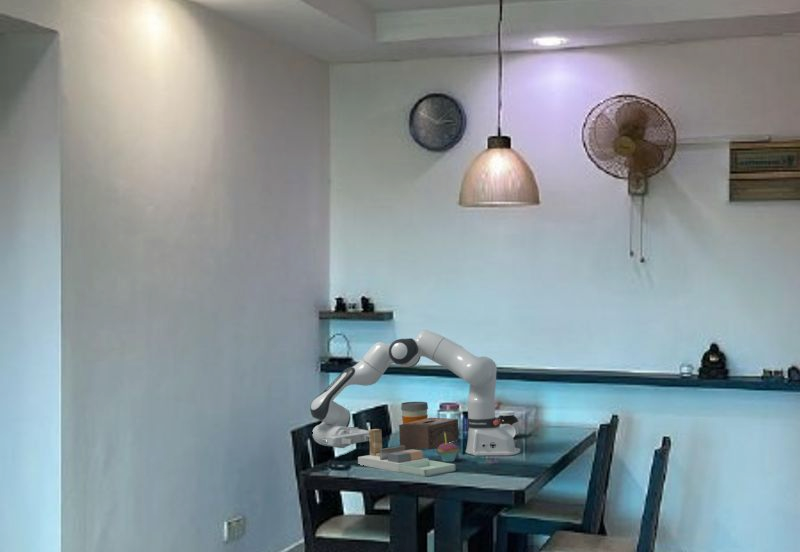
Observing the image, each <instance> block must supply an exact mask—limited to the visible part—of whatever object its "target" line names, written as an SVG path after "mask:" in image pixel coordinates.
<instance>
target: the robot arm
mask: <svg viewBox="0 0 800 552" xmlns="http://www.w3.org/2000/svg"><path fill="white" fill-rule="evenodd" d="M421 357H425V358H427V359H428V360H431V361H432V362H434V363H437V364H438V365H440V366H441V367H443V368H445V369H448V370H449V371H450V372H452V373H453V374H455V375H456V376H457V377H459V378H460V379H462V380H464V381H465V382H466V383H467V384H469V390H468V394H467V395H468V396H467V418H466V419H467V421H466V428H467V429H466V430H467V443H466V449H465V453H466V454H469V455H473V456H475V457H476V456H477V457H478V456H514V455H515V456H516V455H518V454H520V452H521V448H519V447H516V444H515V440H514V439H515V438H513V437H512V436H511V435H510V434H509V433H507V432H506V431H505V430H503V429H502V428H501V427H500V419H497V418H498V417H496V409H495V408H496V407H495V402H496V401H495V397H496V396H495V395H496V386H497V385H496V383H497V371H498V370H497V368H498V367H497V364H496V362H495V361H494V360H493V359H492V358H491V357H488V356H479V357H478V356H476V355H474V354H473V353H471V352H470V351H468V350H467V349H466V348H464V347H463V346H462V345H461V344H458V343H456V342H454V341H452V340H451V339H449V338H447V337H445V336H442V335H441V334H439V333H436V332H433V331H430V330H422V331H420V332H419V333H418V334H417V335H416V336H415V338H414V339H413V338H399V339H395V340H393V342H391V344H390V345H389V344H387V343H386V342H383V341H378V342H376V343H374V344H373V345H372V346H371V348H370V349H369V348H368V350H367V352H366V353H365V354H364V356H363V357H362V358H361V359H360V360H359V361H358V362H357V363H356V364H355V365H353V366H351V367H350V366H349V367H347V368H345V369H344V370H343V371H342V372H341V373H340V374H338V376H337V377H336V378H335V379H334V380H333V381H332V382H331V383H330V384H329V386H327V387H326V388H325V389H324V390H323V391H322V392H321V393H320V394H319V395H317V396H316V397H315V398H314V399H313V400H312V401H311V403H310V406H309V407H310V408H309V410H310V414H311V416H312V418H314V419H315V420H318V421H321V423H320V424H317V425H315V427H313V429H312V432H313V434H312V439H313V441H315V442H316V443H317V444H319V445H322V446H324V447H326V446H327V447H333V448H338V449H345V448H347V447H349V446H351V445H354V444H359V443H364V442H369V430H367V429H361V428H359V427H356V426H353V427H351V426H350V427H349V425H350V422H351V411H350V410H349V409H348V408H346V407H344V406H343V405H342V404H339V403H338V402H336V401H334V400H335V399H336V398H337V397H338V396H339V394H341V393H342V391H344V389H346V388H347V387H348V386H351V385H355V386H356V385H359V386H364V387H365V386H372V385H375V384H376V383H377V382H379V380H380V379H381V378H382V376H383V375H384V373H385V372H386V370H387V369H388V368H389V367H390V366H391V365H394V364H395V365H397V366H400V367H404V368H413V367H414V366H416V365H417V364H418V363H419V362H420V361H421Z"/></svg>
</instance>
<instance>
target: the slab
mask: <svg viewBox="0 0 800 552" xmlns="http://www.w3.org/2000/svg"><path fill="white" fill-rule="evenodd" d="M426 460H430V459H429V458H428V457H423V459H418V460H412V461H406V462H401V463H395V462H389V461H388V459H385V460H380V457H379V456H372V455H370V454H369V455H363V456H362V455H361V456H358V457H357V464H360V465H359V466H363V465H364V467H368V468H369V467H370V468H375V469H380V470H387V471H391V472H395V473H396V472H398V473H400V472H399V465H404V464H409V463H415V462H420V461H426Z"/></svg>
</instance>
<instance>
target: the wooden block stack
mask: <svg viewBox="0 0 800 552" xmlns="http://www.w3.org/2000/svg"><path fill="white" fill-rule="evenodd" d="M368 431H369V441H368V442H369V455H372V456H379V457H380V460H385V459H388V453H393V452H399V451H405V450H406V448H405V446H400V445H398V446H393V447H387V448H386V447H385V448H383V437H382V436H383V435H382V432H383V431H382V429H380V428H373V429H368Z"/></svg>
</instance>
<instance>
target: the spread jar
mask: <svg viewBox="0 0 800 552" xmlns="http://www.w3.org/2000/svg"><path fill="white" fill-rule="evenodd" d="M498 415H499V416H498V417H496V418H497V419H500V427H501V428H502V429H503V430H505V431H506V432H507V433H509V434H510V435H511V436H512V437H513V439H516V437H518V435H519V433H520V424H519V423H520V421H519V420H518V418H517V416H515V411H514V410H500V411H499V412H498Z"/></svg>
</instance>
